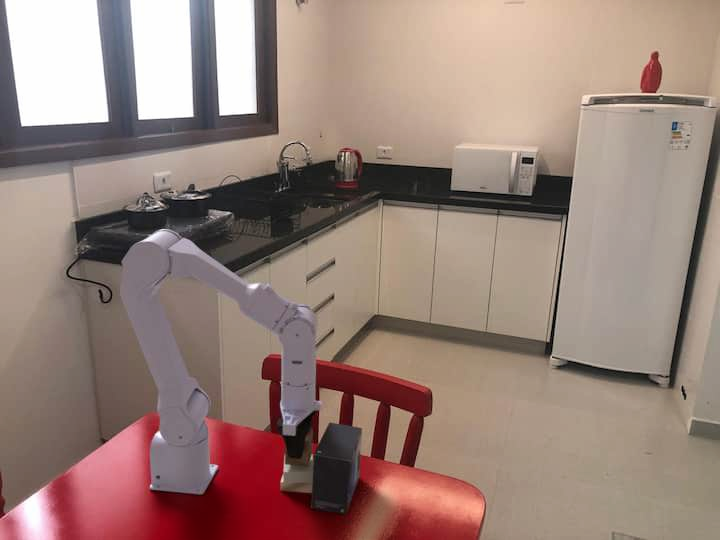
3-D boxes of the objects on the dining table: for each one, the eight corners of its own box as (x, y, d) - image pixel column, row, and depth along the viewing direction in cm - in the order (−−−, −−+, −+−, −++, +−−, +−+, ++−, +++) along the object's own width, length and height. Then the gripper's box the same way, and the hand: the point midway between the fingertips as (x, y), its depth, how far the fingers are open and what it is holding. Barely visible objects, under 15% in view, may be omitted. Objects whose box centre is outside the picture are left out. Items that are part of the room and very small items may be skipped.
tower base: (280, 492, 99) (280, 482, 98) (286, 473, 104) (286, 463, 104) (311, 495, 99) (312, 484, 98) (316, 476, 104) (316, 465, 103)
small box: (348, 516, 93) (350, 460, 90) (310, 510, 94) (311, 454, 92) (361, 477, 103) (363, 426, 100) (326, 472, 104) (327, 421, 102)
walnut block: (285, 464, 98) (285, 438, 97) (289, 451, 102) (290, 426, 101) (308, 466, 98) (308, 440, 96) (312, 453, 102) (312, 428, 100)
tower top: (283, 483, 98) (283, 472, 98) (284, 465, 103) (284, 454, 102) (312, 482, 99) (312, 471, 98) (312, 464, 103) (312, 454, 103)
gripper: (314, 401, 88) (312, 477, 92) (328, 362, 102) (326, 429, 106) (269, 397, 89) (269, 473, 93) (290, 359, 103) (289, 426, 107)
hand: (297, 449), depth 99 cm, fingers closed on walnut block, 4 cm apart
